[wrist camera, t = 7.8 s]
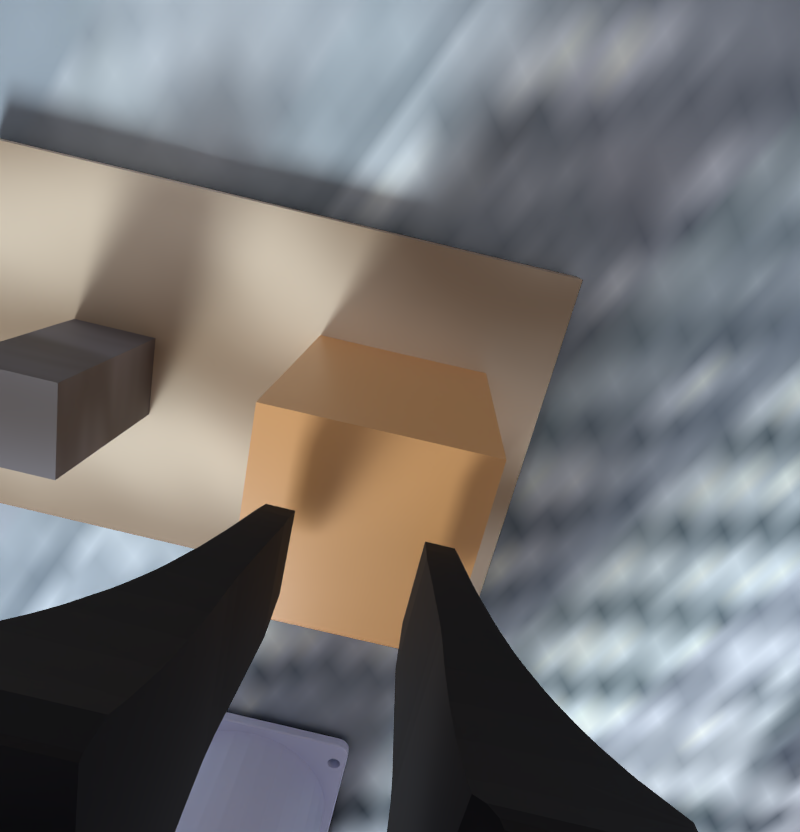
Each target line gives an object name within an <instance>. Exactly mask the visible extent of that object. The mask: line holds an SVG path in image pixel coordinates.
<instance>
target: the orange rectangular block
mask: <svg viewBox="0 0 800 832" xmlns="http://www.w3.org/2000/svg"><path fill="white" fill-rule="evenodd" d="M505 463H506V456H505V451H504V447H503V443H502V439H501V434H500V430H499V426H498V422H497V417H496V413H495V409H494V405H493V401H492V396H491V392H490V388H489V384H488V379H487V375H486V373H483V372H478V371H474V370H470V369H465V368H461V367H457V366H452V365H448V364H444V363H439V362H435V361H431V360H426V359H422V358H418V357H413V356H409V355H405V354H400V353H396V352H392V351H387V350H383V349H379V348H374V347H370V346H366V345H361V344H357V343H353V342H348V341H344V340H340V339H335V338H331V337H327V336H322V335H320V336H319V337H318V338H317V339H316V340H315V341H314V342H313V343H312V344H311V345H310V346H309V348H308V349H307V350H306V351H305V352H304V353H303V354H302V355H301V356H300V357H299V358H298V359H297V360H296V361H295V362H294V363H293V364H292V365H291V366H290V367H289V368H288V369H287V370H286V371H285V372H284V373H283V375H282V376H281V377H280V378H279V379H278V380H277V381H276V382H275V383H274V384H273V385H272V386H271V387H270V388H269V389H268V390H267V391H266V392H265V393H264V394H263V395H262V396H261V397H260V398H259V399H258V400H257V402H256V405H255V412H254V420H253V427H252V434H251V441H250V448H249V455H248V462H247V469H246V476H245V483H244V490H243V497H242V504H241V511H240V519H239V521H240V520H242V519H243V518H245V517H246V516H247V515H249V514H250V513H252V512H253V511H255V510H256V509H258V508H259V507H261V506H263V505H265V504H269V505H273V506H278V507H282V508H286V509H290V510H295V515H294V520H293V526H292V531H291V536H290V542H289V547H288V553H287V558H286V563H285V569H284V574H283V579H282V585H281V590H280V595H279V597H278V600H277V603H276V606H275V609H274V611H273V614H272V617H271V620H275V621H279V622H284V623H288V624H293V625H297V626H301V627H306V628H310V629H314V630H319V631H323V632H327V633H332V634H336V635H341V636H345V637H349V638H354V639H358V640H362V641H367V642H371V643H376V644H380V645H384V646H389V647H393V648H397V649H399V643H400V636H401V629H402V623H403V619H404V616H405V612H406V608H407V605H408V601H409V598H410V594H411V590H412V587H413V583H414V580H415V576H416V572H417V569H418V565H419V562H420V558H421V554H422V551H423V547H424V544H425V542H430V543H434V544H438V545H442V546H447V547H451V548H455V550H456V552H457V553H458V555H459V557H460V559H461V561H462V563H463V566H464V568H465V570H466V572H467V574H468V576H469V578H470V577H471V574H472V571H473V567H474V564H475V561H476V558H477V554H478V551H479V548H480V545H481V541H482V538H483V535H484V532H485V528H486V525H487V522H488V518H489V515H490V512H491V509H492V505H493V502H494V499H495V496H496V492H497V489H498V486H499V483H500V479H501V476H502V473H503V470H504V466H505Z"/></svg>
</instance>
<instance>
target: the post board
mask: <svg viewBox="0 0 800 832" xmlns="http://www.w3.org/2000/svg"><path fill="white" fill-rule="evenodd" d="M582 281H583V280H582V279H580V278H578V277H575V276H571V275H567V274H563V273H559V272H555V271H550V270H546V269H542V268H538V267H534V266H530V265H525V264H521V263H517V262H513V261H509V260H505V259H500V258H496V257H492V256H488V255H484V254H480V253H476V252H471V251H467V250H463V249H459V248H455V247H451V246H446V245H442V244H438V243H434V242H430V241H426V240H421V239H417V238H413V237H409V236H405V235H401V234H396V233H392V232H388V231H384V230H380V229H376V228H371V227H367V226H363V225H359V224H355V223H351V222H346V221H342V220H338V219H334V218H330V217H326V216H321V215H317V214H313V213H309V212H305V211H301V210H296V209H292V208H288V207H284V206H280V205H276V204H271V203H267V202H263V201H259V200H255V199H251V198H246V197H242V196H238V195H234V194H230V193H226V192H222V191H217V190H213V189H209V188H205V187H201V186H197V185H192V184H188V183H184V182H180V181H176V180H172V179H167V178H163V177H159V176H155V175H151V174H147V173H142V172H138V171H134V170H130V169H126V168H122V167H117V166H113V165H109V164H105V163H101V162H97V161H92V160H88V159H84V158H80V157H76V156H72V155H67V154H63V153H59V152H55V151H51V150H47V149H42V148H38V147H34V146H30V145H26V144H22V143H17V142H13V141H9V140H5V139H1V138H0V503H3V504H7V505H11V506H16V507H20V508H24V509H28V510H33V511H37V512H41V513H45V514H50V515H54V516H58V517H62V518H67V519H71V520H75V521H79V522H83V523H88V524H92V525H96V526H100V527H105V528H109V529H113V530H117V531H122V532H126V533H130V534H134V535H139V536H143V537H147V538H151V539H155V540H160V541H164V542H168V543H172V544H177V545H181V546H185V547H189V548H194V549H196V548H197V547H199V546H201V545H202V544H204V543H206V542H207V541H209V540H211V539H212V538H214V537H215V536H217V535H219V534H220V533H222V532H223V531H225V530H227V529H228V528H230V527H231V526H233V525H234V524H236V523H237V522H239V519H240V511H241V504H242V497H243V490H244V483H245V476H246V469H247V462H248V455H249V448H250V441H251V434H252V427H253V420H254V412H255V405H256V402H257V400H258V399H259V398H260V397H261V396H262V395H263V394H264V393H265V392H266V391H267V390H268V389H269V388H270V387H271V386H272V385H273V384H274V383H275V382H276V381H277V380H278V379H279V378H280V377H281V376H282V375H283V373H284V372H285V371H286V370H287V369H288V368H289V367H290V366H291V365H292V364H293V363H294V362H295V361H296V360H297V359H298V358H299V357H300V356H301V355H302V354H303V353H304V352H305V351H306V350H307V349H308V348H309V346H310V345H311V344H312V343H313V342H314V341H315V340H316V339H317V338H318V337H319V336H320V335H322V336H327V337H331V338H335V339H340V340H344V341H348V342H353V343H357V344H361V345H366V346H370V347H374V348H379V349H383V350H387V351H392V352H396V353H400V354H405V355H409V356H413V357H418V358H422V359H426V360H431V361H435V362H439V363H444V364H448V365H452V366H457V367H461V368H465V369H470V370H474V371H478V372H483V373H486V375H487V379H488V384H489V388H490V392H491V396H492V401H493V405H494V409H495V413H496V417H497V422H498V426H499V430H500V434H501V439H502V443H503V447H504V451H505V456H506V463H505V466H504V470H503V473H502V476H501V479H500V483H499V486H498V489H497V492H496V496H495V499H494V502H493V505H492V509H491V512H490V515H489V518H488V522H487V525H486V528H485V532H484V535H483V538H482V541H481V545H480V548H479V551H478V554H477V558H476V561H475V564H474V567H473V571H472V574H471V577H470V580H471V582H472V584H473V586H474V588H475V589H476V591H477V593H478V595H479V596H480V593H481V590H482V587H483V584H484V581H485V578H486V575H487V572H488V568H489V565H490V562H491V559H492V556H493V553H494V550H495V547H496V544H497V541H498V538H499V535H500V532H501V529H502V526H503V523H504V520H505V516H506V513H507V510H508V507H509V504H510V501H511V498H512V495H513V492H514V489H515V486H516V483H517V480H518V477H519V474H520V471H521V467H522V464H523V461H524V458H525V455H526V452H527V449H528V446H529V443H530V440H531V437H532V434H533V431H534V428H535V425H536V422H537V419H538V415H539V412H540V409H541V406H542V403H543V400H544V397H545V394H546V391H547V388H548V385H549V382H550V379H551V376H552V373H553V370H554V366H555V363H556V360H557V357H558V354H559V351H560V348H561V345H562V342H563V339H564V336H565V333H566V330H567V327H568V324H569V321H570V317H571V314H572V311H573V308H574V305H575V302H576V299H577V296H578V293H579V290H580V287H581V284H582Z"/></svg>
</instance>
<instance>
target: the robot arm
mask: <svg viewBox="0 0 800 832" xmlns="http://www.w3.org/2000/svg"><path fill="white" fill-rule="evenodd" d="M294 515H295V510H290V509H286V508H282V507H278V506H273V505H269V504H265V505H263V506H261V507H259V508H258V509H256V510H255V511H253V512H252V513H250V514H249V515H247V516H246V517H245V518H243V519H242V520H240V521H239V522H237V523H236V524H234V525H233V526H231V527H230V528H228V529H227V530H225V531H223V532H222V533H220V534H219V535H217V536H215V537H214V538H212V539H211V540H209V541H207V542H206V543H204V544H202V545H201V546H199V547H197V548H196V549H194V550H192V551H190V552H189V553H187V554H185V555H183V556H181V557H179V558H177V559H176V560H174V561H172V562H170V563H168V564H166V565H164V566H162V567H160V568H158V569H156V570H154V571H152V572H150V573H147V574H145V575H143V576H140V577H138V578H136V579H133V580H131V581H129V582H126V583H124V584H121V585H119V586H116V587H114V588H111V589H108V590H105V591H102V592H99V593H96V594H93V595H90V596H87V597H84V598H81V599H78V600H75V601H72V602H69V603H66V604H63V605H60V606H57V607H53V608H49V609H46V610H42V611H38V612H35V613H31V614H27V615H23V616H18V617H14V618H10V619H6V620H2V621H0V832H328V830H329V826H330V822H331V818H332V815H333V811H334V807H335V803H336V799H337V796H338V792H339V788H340V784H341V781H342V777H343V773H344V769H345V765H346V762H347V758H348V753H349V746H348V744H347V743H346V742H345V741H344V740H342V739H339V738H335V737H331V736H326V735H322V734H318V733H313V732H309V731H305V730H301V729H296V728H292V727H288V726H284V725H279V724H275V723H271V722H266V721H262V720H258V719H254V718H249V717H245V716H241V715H237V714H232V713H228V712H227V710H228V708H229V706H230V704H231V702H232V700H233V698H234V696H235V694H236V692H237V690H238V688H239V686H240V684H241V682H242V680H243V678H244V676H245V674H246V672H247V670H248V668H249V666H250V664H251V662H252V660H253V658H254V656H255V654H256V652H257V650H258V648H259V646H260V644H261V642H262V640H263V638H264V636H265V633H266V631H267V628H268V625H269V622H270V620H271V617H272V614H273V611H274V609H275V606H276V603H277V600H278V597H279V595H280V590H281V585H282V579H283V574H284V569H285V563H286V558H287V553H288V547H289V542H290V536H291V531H292V526H293V520H294ZM333 759H336V760H333ZM387 832H698V831H697V829H696V826H695V824H694V823H693V822H692V821H691V820H689V819H688V818H687V817H685V816H684V815H683V814H682V813H680V812H679V811H678V810H676V809H675V808H674V807H672V806H671V805H670V804H668V803H667V802H666V801H665V800H663V799H662V798H661V797H659V796H658V795H657V794H655V793H654V792H653V791H652V790H650V789H649V788H648V787H646V786H645V785H644V784H642V783H641V782H640V781H638V780H637V779H636V778H635V777H634V776H632V775H631V774H630V773H629V772H628V771H626V770H625V769H624V768H623V767H622V766H621V765H620V764H618V763H617V762H616V761H615V760H614V759H613V758H612V757H610V756H609V755H608V754H607V753H606V752H605V751H604V750H602V749H601V748H600V747H599V746H598V745H597V744H596V743H595V742H594V741H593V740H592V739H591V738H590V737H589V736H587V735H586V734H585V733H584V732H583V731H582V730H581V729H580V728H579V727H578V726H577V725H576V724H575V723H574V722H573V721H572V720H571V719H570V717H569V716H568V715H567V714H566V713H565V712H564V711H563V710H562V709H561V708H560V707H559V706H558V705H557V704H556V703H555V702H554V701H553V700H552V698H551V697H550V696H549V695H548V694H547V693H546V692H545V691H544V689H543V688H542V687H541V686H540V685H539V683H538V682H537V681H536V680H535V679H534V677H533V676H532V675H531V674H530V672H529V671H528V670H527V669H526V667H525V666H524V665H523V664H522V662H521V661H520V660H519V658H518V657H517V656H516V654H515V653H514V652H513V650H512V649H511V647H510V646H509V644H508V643H507V641H506V640H505V638H504V637H503V636H502V634H501V633H500V631H499V629H498V628H497V626H496V625H495V623H494V621H493V620H492V618H491V616H490V614H489V613H488V611H487V609H486V607H485V606H484V604H483V602H482V601H481V599H480V597H479V595H478V593H477V591H476V589H475V588H474V586H473V584H472V582H471V580H470V578H469V576H468V574H467V572H466V570H465V568H464V566H463V563H462V561H461V559H460V557H459V555H458V553H457V552H456V550H455V548H451V547H447V546H442V545H438V544H434V543H430V542H425V544H424V547H423V551H422V554H421V558H420V562H419V565H418V569H417V572H416V576H415V580H414V583H413V587H412V590H411V594H410V598H409V601H408V605H407V608H406V612H405V616H404V619H403V623H402V629H401V636H400V643H399V649H398V656H397V663H396V676H395V707H394V742H393V777H392V791H391V804H390V812H389V821H388V829H387Z"/></svg>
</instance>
